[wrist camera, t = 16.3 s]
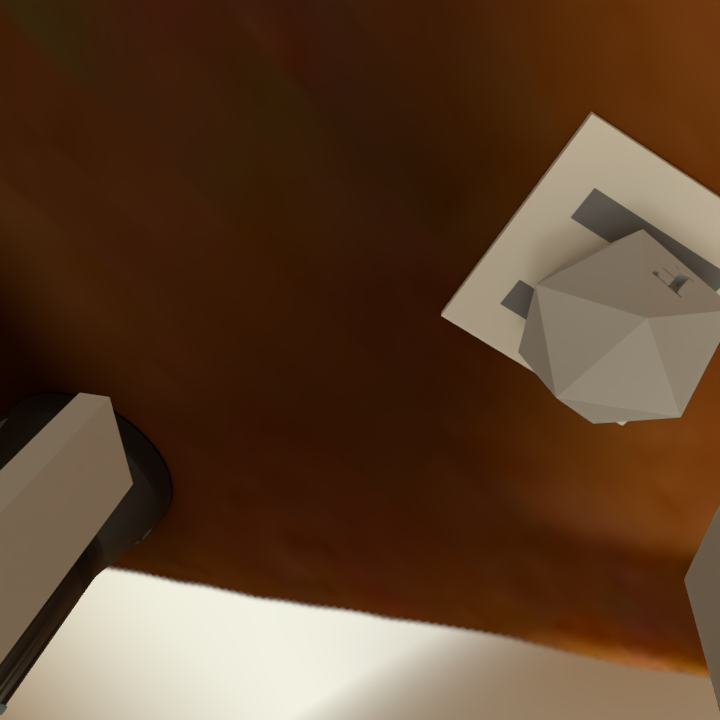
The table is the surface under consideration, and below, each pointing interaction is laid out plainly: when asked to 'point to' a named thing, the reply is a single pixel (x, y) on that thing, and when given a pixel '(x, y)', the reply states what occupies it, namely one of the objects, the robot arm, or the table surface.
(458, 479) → the table surface
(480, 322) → the board
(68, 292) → the table surface
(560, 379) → the die
